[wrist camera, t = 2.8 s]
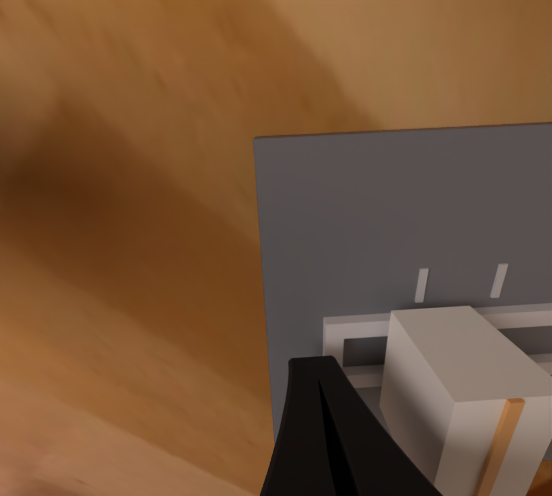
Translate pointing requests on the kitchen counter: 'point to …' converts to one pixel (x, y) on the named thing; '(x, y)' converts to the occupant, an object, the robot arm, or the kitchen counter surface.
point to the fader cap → (465, 402)
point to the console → (401, 241)
